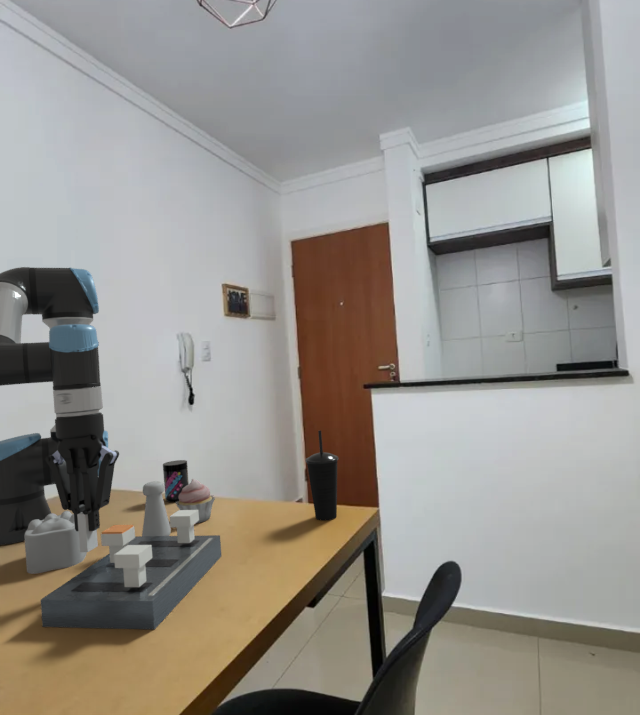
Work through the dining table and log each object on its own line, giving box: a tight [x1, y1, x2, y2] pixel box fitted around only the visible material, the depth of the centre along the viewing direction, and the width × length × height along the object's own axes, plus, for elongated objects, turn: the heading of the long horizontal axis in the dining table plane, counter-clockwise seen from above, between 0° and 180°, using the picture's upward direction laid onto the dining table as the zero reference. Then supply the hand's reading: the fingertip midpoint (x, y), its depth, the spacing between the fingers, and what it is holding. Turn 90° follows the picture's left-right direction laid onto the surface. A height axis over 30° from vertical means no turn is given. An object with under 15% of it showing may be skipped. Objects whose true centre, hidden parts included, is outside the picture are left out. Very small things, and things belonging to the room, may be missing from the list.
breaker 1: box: [114, 545, 152, 587], centre depth 72 cm, size 4×4×5 cm
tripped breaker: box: [100, 524, 136, 563], centre depth 82 cm, size 4×4×6 cm
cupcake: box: [174, 478, 216, 524], centre depth 116 cm, size 9×9×10 cm
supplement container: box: [162, 459, 190, 503], centre depth 136 cm, size 7×7×10 cm
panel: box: [40, 534, 222, 630], centre depth 81 cm, size 18×25×4 cm
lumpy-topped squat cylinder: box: [24, 510, 88, 575], centre depth 98 cm, size 10×13×9 cm
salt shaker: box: [141, 480, 172, 536], centre depth 101 cm, size 6×6×13 cm
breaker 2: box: [169, 509, 199, 543], centre depth 89 cm, size 4×4×5 cm
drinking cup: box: [304, 430, 339, 522], centre depth 110 cm, size 8×8×20 cm
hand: (89, 548), depth 83 cm, fingers closed
